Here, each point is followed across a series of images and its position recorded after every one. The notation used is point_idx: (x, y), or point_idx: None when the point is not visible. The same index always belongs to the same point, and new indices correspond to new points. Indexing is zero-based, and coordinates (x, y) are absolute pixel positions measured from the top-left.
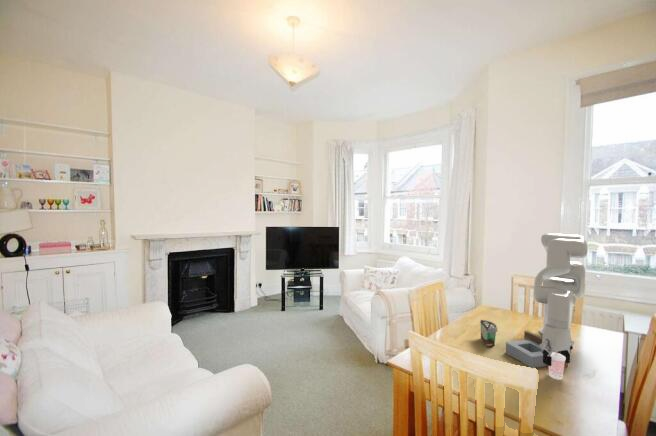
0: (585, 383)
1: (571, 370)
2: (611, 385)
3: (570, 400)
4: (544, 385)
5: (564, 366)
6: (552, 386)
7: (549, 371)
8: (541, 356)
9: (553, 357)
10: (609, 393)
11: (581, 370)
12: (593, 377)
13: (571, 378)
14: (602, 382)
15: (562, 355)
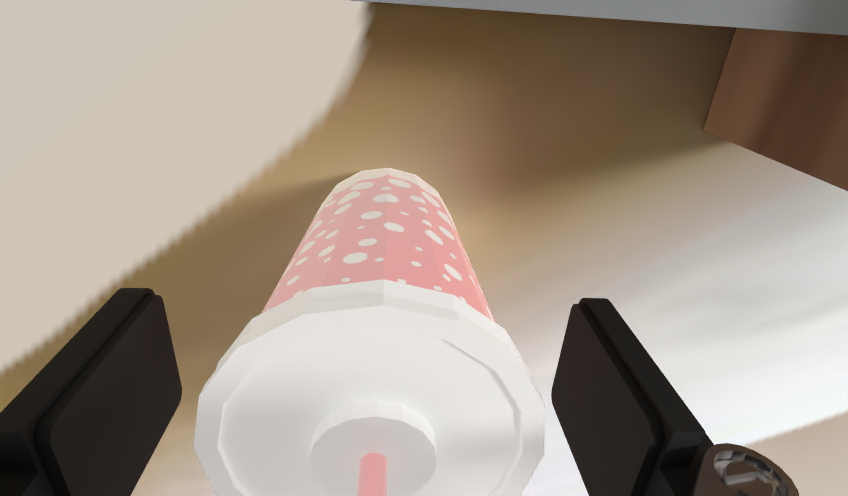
0: (548, 381)
1: (712, 195)
2: (717, 441)
3: (164, 485)
4: (95, 312)
5: (717, 134)
6: (172, 342)
7: (309, 228)
8: (426, 5)
9: (225, 482)
10: (565, 491)
11: (814, 227)
12: (744, 341)
13: (517, 300)
14: (709, 404)
15: (515, 468)
